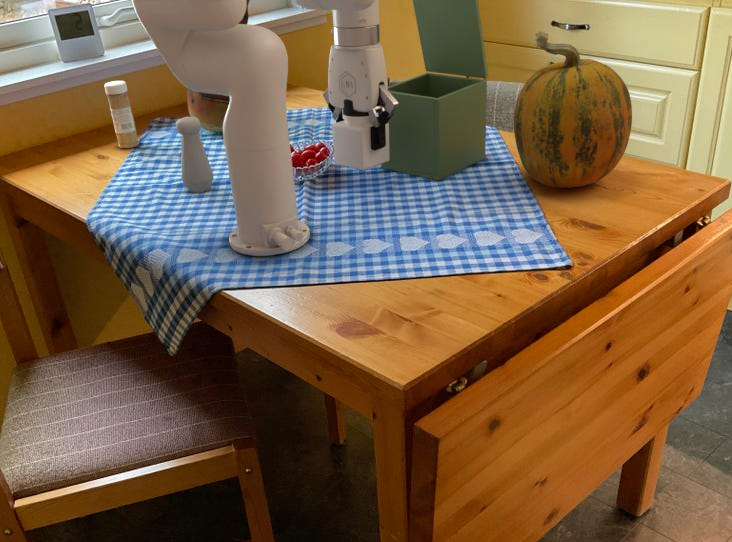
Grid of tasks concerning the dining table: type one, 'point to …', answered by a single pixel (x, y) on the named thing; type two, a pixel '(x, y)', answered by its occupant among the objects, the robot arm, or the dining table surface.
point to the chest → (437, 125)
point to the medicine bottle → (357, 140)
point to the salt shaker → (193, 156)
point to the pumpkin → (571, 119)
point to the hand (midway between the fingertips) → (361, 144)
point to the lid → (451, 37)
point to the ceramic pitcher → (210, 102)
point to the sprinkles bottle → (121, 114)
